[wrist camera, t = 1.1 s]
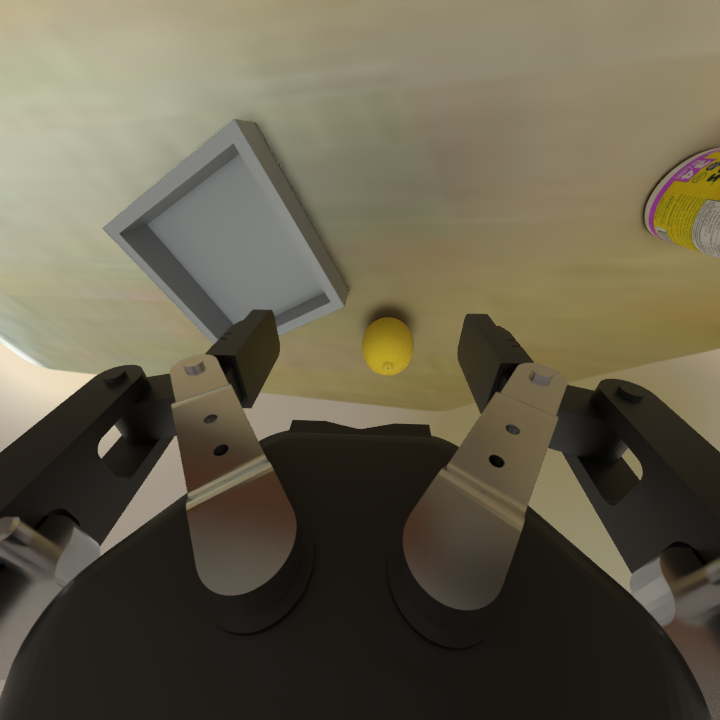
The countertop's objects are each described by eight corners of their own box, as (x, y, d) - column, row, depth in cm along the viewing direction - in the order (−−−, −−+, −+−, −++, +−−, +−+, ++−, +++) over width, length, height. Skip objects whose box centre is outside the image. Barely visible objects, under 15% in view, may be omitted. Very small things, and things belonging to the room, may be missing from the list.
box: (255, 123, 23) (234, 118, 20) (348, 290, 31) (344, 306, 28) (134, 219, 28) (102, 228, 25) (241, 340, 36) (227, 359, 33)
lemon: (399, 351, 36) (402, 395, 29) (358, 337, 35) (351, 379, 28) (419, 314, 32) (427, 355, 26) (374, 298, 31) (370, 336, 25)
